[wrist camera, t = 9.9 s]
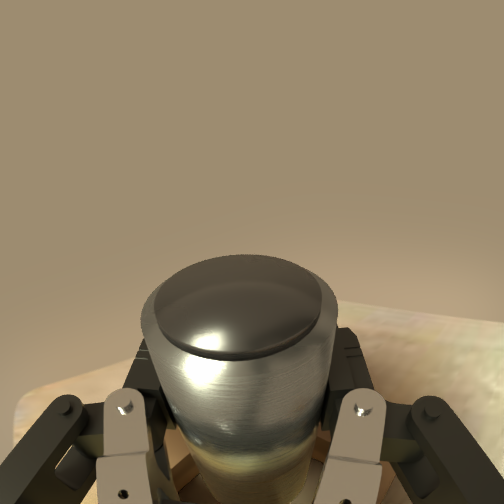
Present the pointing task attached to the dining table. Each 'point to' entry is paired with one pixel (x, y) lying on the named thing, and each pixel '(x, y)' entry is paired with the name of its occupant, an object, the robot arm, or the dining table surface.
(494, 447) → the dining table surface
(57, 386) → the dining table surface
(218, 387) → the metal tea canister
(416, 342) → the dining table surface
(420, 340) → the dining table surface
